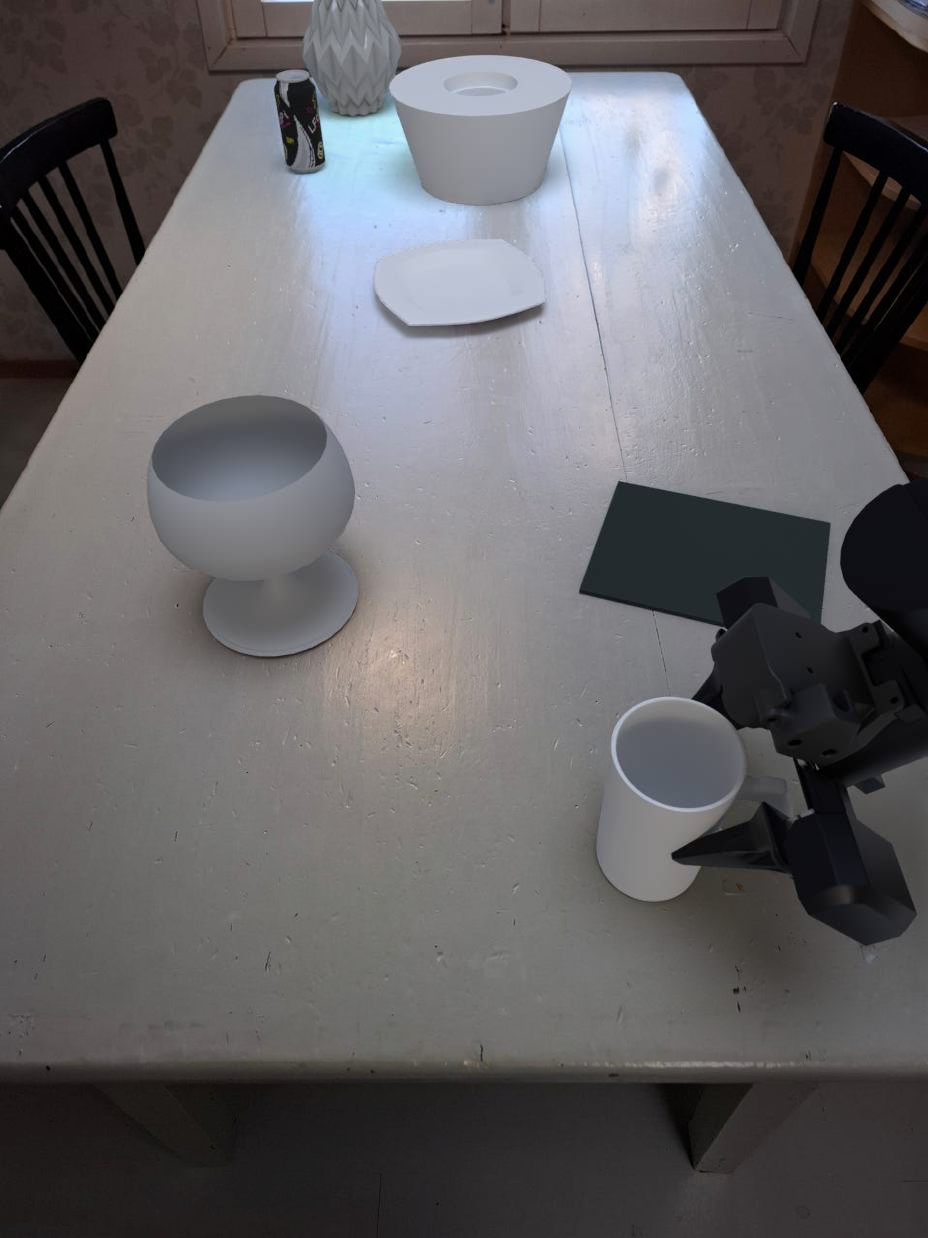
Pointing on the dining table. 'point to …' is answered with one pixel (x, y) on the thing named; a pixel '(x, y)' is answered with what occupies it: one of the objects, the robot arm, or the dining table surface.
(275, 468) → the chalice
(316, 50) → the vase
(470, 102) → the white tapered cylinder
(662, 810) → the mug
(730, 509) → the mat
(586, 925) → the dining table surface
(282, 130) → the beverage can
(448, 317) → the plate
